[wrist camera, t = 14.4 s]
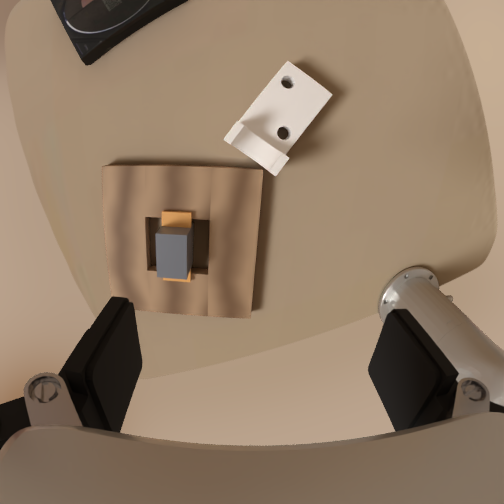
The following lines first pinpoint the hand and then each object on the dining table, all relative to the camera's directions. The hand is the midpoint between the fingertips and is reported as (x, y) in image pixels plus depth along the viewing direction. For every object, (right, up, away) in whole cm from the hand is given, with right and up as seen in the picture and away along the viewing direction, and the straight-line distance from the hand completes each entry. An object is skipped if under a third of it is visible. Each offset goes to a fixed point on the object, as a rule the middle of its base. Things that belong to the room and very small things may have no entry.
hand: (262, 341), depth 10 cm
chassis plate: (-11, +5, +32) cm, 34 cm away
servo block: (-11, +5, +33) cm, 35 cm away
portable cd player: (-21, +41, +19) cm, 50 cm away
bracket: (+3, +21, +27) cm, 35 cm away
